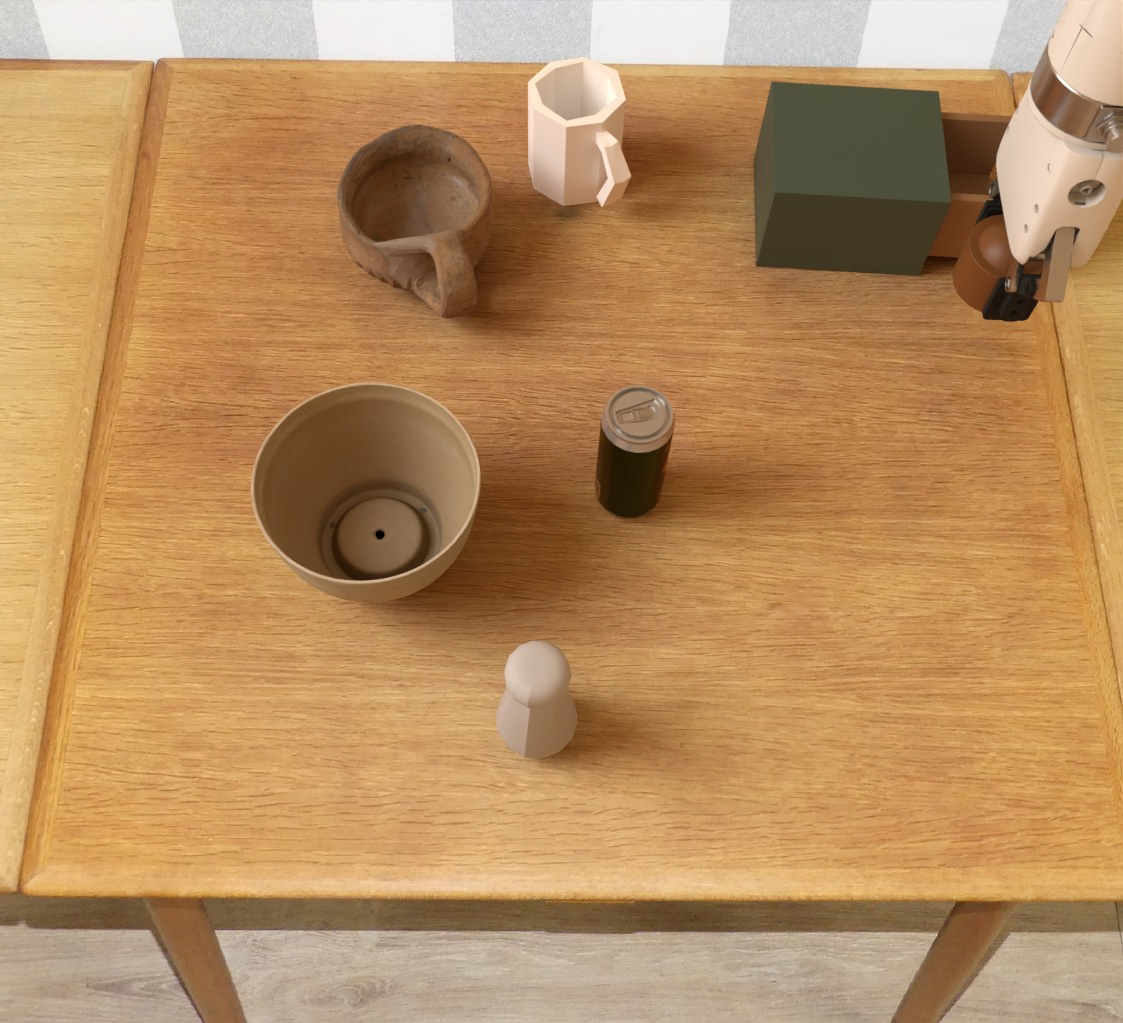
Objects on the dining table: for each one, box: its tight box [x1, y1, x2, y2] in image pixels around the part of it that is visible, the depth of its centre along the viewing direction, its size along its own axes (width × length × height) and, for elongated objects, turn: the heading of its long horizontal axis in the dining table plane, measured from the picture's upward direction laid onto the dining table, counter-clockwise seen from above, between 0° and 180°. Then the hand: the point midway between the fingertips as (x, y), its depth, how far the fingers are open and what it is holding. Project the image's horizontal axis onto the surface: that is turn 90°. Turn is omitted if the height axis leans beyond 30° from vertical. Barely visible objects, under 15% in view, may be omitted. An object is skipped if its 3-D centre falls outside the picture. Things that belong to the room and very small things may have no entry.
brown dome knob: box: [952, 215, 1044, 313], centre depth 85 cm, size 6×6×5 cm
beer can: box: [594, 384, 676, 519], centre depth 93 cm, size 5×5×12 cm
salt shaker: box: [495, 640, 579, 760], centre depth 83 cm, size 6×6×13 cm
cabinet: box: [753, 81, 952, 277], centre depth 108 cm, size 15×13×10 cm
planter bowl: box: [250, 381, 482, 604], centre depth 91 cm, size 16×16×11 cm
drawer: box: [927, 111, 1013, 258], centre depth 108 cm, size 18×11×8 cm, turn 87°
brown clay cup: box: [336, 124, 494, 319], centre depth 105 cm, size 18×14×10 cm
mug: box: [527, 56, 632, 208], centre depth 109 cm, size 12×9×10 cm
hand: (997, 277), depth 87 cm, fingers closed on brown dome knob, 6 cm apart
